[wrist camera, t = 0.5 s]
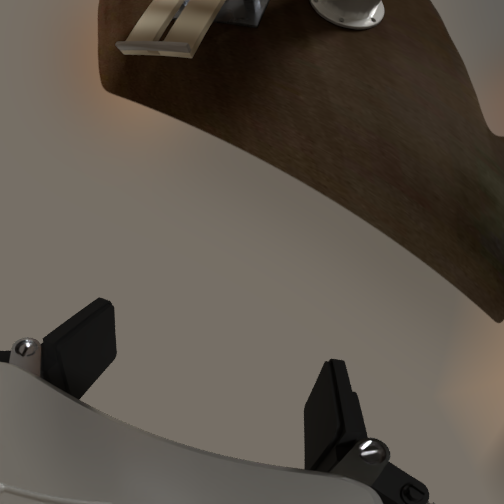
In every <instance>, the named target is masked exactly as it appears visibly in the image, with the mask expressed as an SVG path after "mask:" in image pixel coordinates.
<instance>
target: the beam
mask: <svg viewBox="0 0 504 504" xmlns="http://www.w3.org/2000/svg"><path fill="white" fill-rule="evenodd" d="M184 1H185V0H153V2H152V3H151V4H150V6H149V7H148V8H147V10H146V11H145V12H144V14H143V15H142V17H141V18H140V20H139V21H138V23H137V24H136V26H135V27H134V29H133V30H132V32H131V33H130V35H129V37H128V38H127V40H126V41H122V42H116V44H115V45H116V46H117V47H118V49H119V50H120V51H121V52H122V53H123V54H124V55H158V56H173V57H184V58H193V56H194V54H195V52H196V50H197V49H198V47H199V45H200V43H201V41H202V39H203V38H204V36H205V34H206V32H207V31H208V29H209V27H210V25H211V24H212V22H213V20H214V19H215V17H216V15H217V14H218V12H219V11H220V9H221V7H222V6H223V4H224V3H225V1H226V0H190V1H189V2H188V4H187V5H186V7H185V8H184V9H183V11H182V12H181V14H180V15H179V17H178V18H177V20H176V22H175V23H174V25H173V26H172V28H171V29H170V31H169V33H168V34H167V36H166V38H165V39H164V41H159V39H160V38H161V36H162V34H163V33H164V31H165V29H166V28H167V26H168V25H169V23H170V22H171V20H172V19H173V17H174V16H175V14H176V13H177V11H178V10H179V8H180V7H181V5H182V4H183V2H184Z"/></svg>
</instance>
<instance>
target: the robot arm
mask: <svg viewBox="0 0 504 504" xmlns="http://www.w3.org/2000/svg"><path fill="white" fill-rule="evenodd" d="M310 3H311V5H312V7H313V8H314V10H315V11H316V12H317V13H318V14H319V15H320V16H321V17H323V18H324V19H326V20H327V21H329V22H331V23H333V24H336V25H338V26H341V27H345V28H349V29H369V28H372V27H374V26H376V25H377V24H379V22H380V21H381V20H382V18H383V16H384V6H383V3H382V1H381V0H310ZM116 354H117V351H116V336H115V317H114V306H113V305H112V303H111V302H110V301H108V300H105V299H103V298H98V299H96V300H95V301H93V302H92V303H90V304H89V305H88V306H86V307H85V308H83V309H82V310H81V311H79V312H78V313H76V314H75V315H74V316H72V317H71V318H70V319H68V320H67V321H66V322H64V323H63V324H61V325H60V326H59V327H57V328H56V329H55V330H53V331H52V332H51V333H49V334H48V335H47V336H45V337H44V338H43V343H42V344H40V343H39V342H38V341H37V340H36V339H33V338H22V339H19V340H18V341H16V342H15V343H14V344H13V346H12V349H11V351H0V504H430V503H429V501H428V499H429V492H428V489H427V487H426V486H425V485H424V484H423V483H421V482H420V481H418V480H417V479H415V478H413V477H412V476H410V475H408V474H407V473H405V472H404V471H402V470H401V469H399V468H397V467H396V466H395V465H393V464H392V463H390V462H389V459H390V451H389V448H388V447H387V445H386V444H385V443H383V442H382V441H380V440H378V439H375V438H368V437H367V432H366V428H365V424H364V420H363V416H362V411H361V408H360V403H359V399H358V396H357V393H356V392H352V389H351V385H350V381H349V377H348V373H347V369H346V365H345V362H344V361H343V360H337V359H330V360H329V362H327V361H326V362H325V363H324V365H323V367H322V370H321V372H320V374H319V376H318V379H317V381H316V383H315V385H314V387H313V389H312V392H311V394H310V396H309V398H308V400H307V402H306V404H305V408H304V433H305V434H304V435H305V436H304V438H305V469H298V468H290V467H282V466H276V465H269V464H264V463H258V462H252V461H247V460H242V459H237V458H233V457H228V456H224V455H220V454H216V453H212V452H208V451H205V450H200V449H197V448H194V447H191V446H187V445H184V444H181V443H177V442H174V441H172V440H169V439H166V438H163V437H160V436H158V435H155V434H152V433H149V432H147V431H144V430H142V429H139V428H137V427H134V426H132V425H130V424H127V423H125V422H123V421H120V420H118V419H116V418H114V417H112V416H110V415H108V414H105V413H103V412H101V411H99V410H97V409H95V408H93V407H91V406H90V405H88V404H86V403H84V402H82V401H80V400H79V399H80V398H81V397H82V396H83V395H84V393H85V392H86V391H87V390H88V389H89V388H90V387H91V385H92V384H93V383H94V382H95V381H96V380H97V379H98V377H99V376H100V375H101V374H102V373H103V372H104V371H105V369H106V368H107V367H108V366H109V365H110V364H111V363H112V362H113V360H114V359H115V357H116ZM432 504H435V503H434V502H433V503H432Z"/></svg>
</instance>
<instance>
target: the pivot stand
mask: <svg viewBox="0 0 504 504" xmlns="http://www.w3.org/2000/svg"><path fill="white" fill-rule="evenodd" d="M189 1H190V0H185V1H184V2H183V4H182V5H181V7H180V8H179V10H178V11H177V13H176V14H175V16H174V17H173V19H172V20H177V18H178V17H179V15H180V14H181V12H182V11H183V9H184V8H185V7H186V5H187V4H188V2H189ZM268 3H269V0H226V1H225V3H224V4H223V6H222V7H221V9H220V11H219V12H218V14H217V15H216V17H215V19H214V20H213V22H217V23H226V24H234V25H241V26H247V27H253V28H258V25H259V23H260V21H261V18H262V16H263V14H264V12H265V9H266V7H267V5H268Z"/></svg>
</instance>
